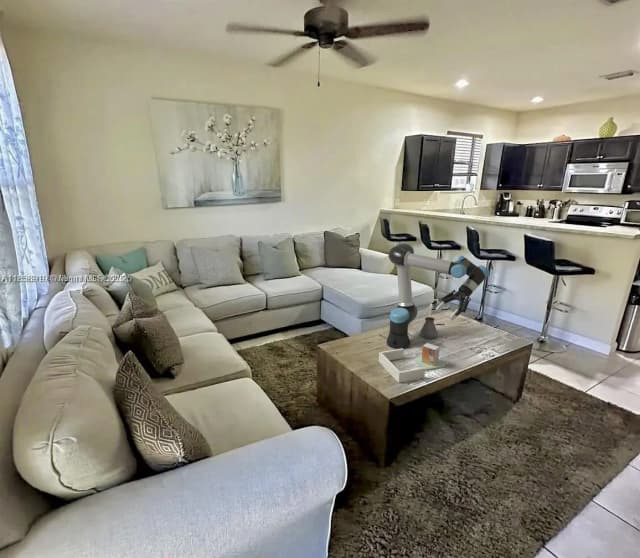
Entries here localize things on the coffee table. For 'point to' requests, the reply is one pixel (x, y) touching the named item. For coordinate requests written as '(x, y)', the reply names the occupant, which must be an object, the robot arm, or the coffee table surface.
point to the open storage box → (398, 375)
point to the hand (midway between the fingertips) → (443, 314)
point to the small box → (430, 354)
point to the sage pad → (429, 367)
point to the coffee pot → (429, 328)
